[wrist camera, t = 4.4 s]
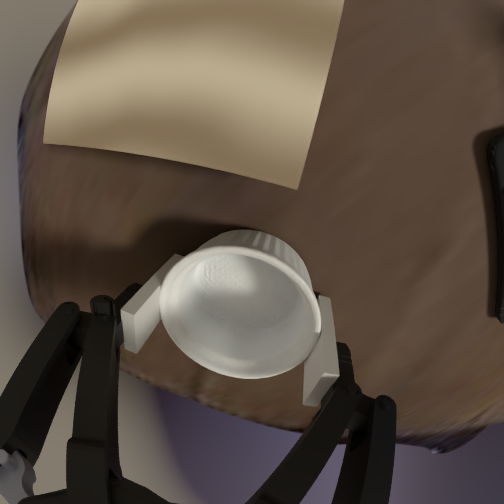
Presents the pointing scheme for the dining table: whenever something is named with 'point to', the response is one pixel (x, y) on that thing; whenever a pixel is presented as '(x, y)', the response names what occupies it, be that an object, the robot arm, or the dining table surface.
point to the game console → (498, 212)
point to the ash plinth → (196, 81)
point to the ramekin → (242, 305)
